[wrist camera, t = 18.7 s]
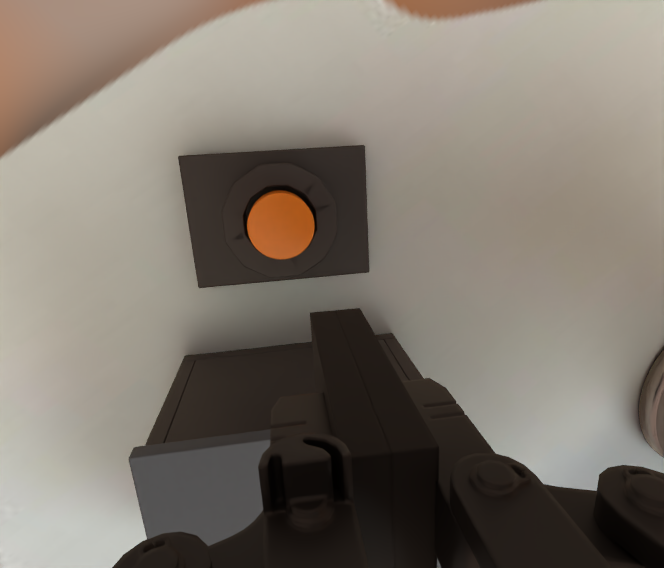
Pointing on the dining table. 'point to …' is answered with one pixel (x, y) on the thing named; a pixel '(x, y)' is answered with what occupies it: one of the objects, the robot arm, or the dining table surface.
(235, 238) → the control block
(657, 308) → the dining table surface
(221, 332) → the dining table surface
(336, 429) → the robot arm
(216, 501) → the dark grey box lid
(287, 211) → the button
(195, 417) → the dark grey box
